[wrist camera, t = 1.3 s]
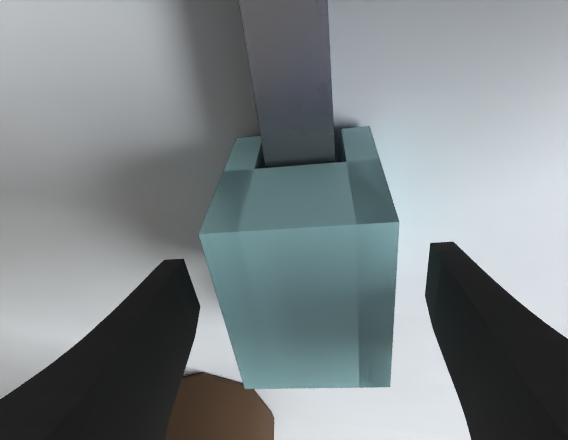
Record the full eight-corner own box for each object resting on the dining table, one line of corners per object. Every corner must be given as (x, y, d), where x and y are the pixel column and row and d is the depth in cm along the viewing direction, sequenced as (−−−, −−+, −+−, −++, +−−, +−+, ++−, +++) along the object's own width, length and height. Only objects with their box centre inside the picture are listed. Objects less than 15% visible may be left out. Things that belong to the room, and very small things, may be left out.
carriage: (369, 126, 13) (399, 221, 8) (369, 266, 16) (390, 387, 12) (236, 137, 13) (198, 233, 9) (262, 271, 17) (244, 388, 12)
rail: (360, -167, 9) (379, -211, 7) (363, 295, 18) (372, 357, 15) (193, -137, 10) (147, -169, 7) (274, 299, 18) (267, 359, 15)
